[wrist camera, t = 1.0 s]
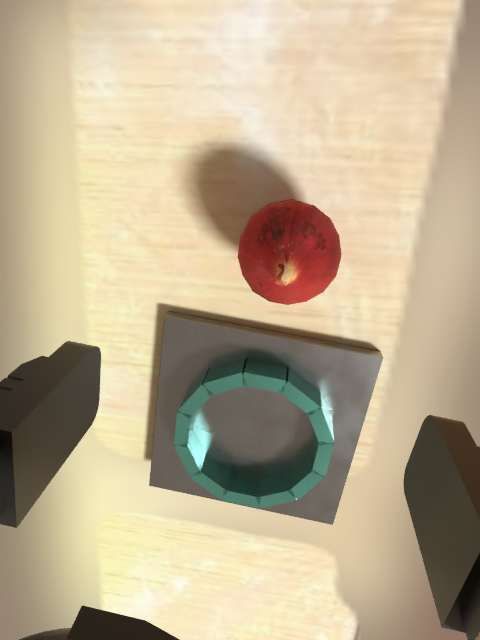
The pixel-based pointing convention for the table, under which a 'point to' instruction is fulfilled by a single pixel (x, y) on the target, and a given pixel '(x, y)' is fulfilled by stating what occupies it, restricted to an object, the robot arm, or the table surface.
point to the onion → (289, 252)
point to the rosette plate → (258, 415)
